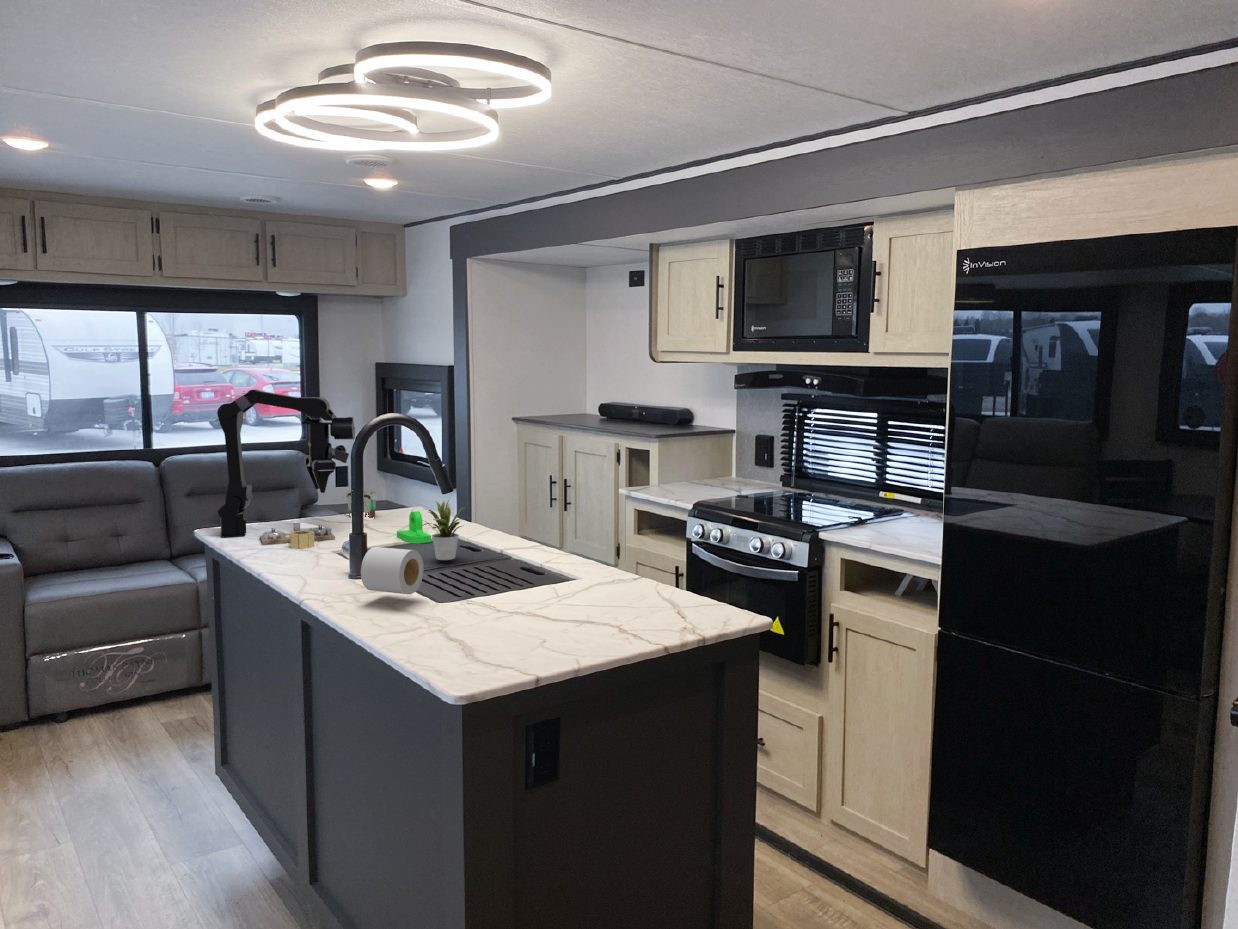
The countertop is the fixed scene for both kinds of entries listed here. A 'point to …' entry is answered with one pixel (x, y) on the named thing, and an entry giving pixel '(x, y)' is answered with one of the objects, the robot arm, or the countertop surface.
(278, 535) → the gear
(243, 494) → the robot arm
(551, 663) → the countertop surface
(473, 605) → the countertop surface
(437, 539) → the house plant
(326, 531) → the gear
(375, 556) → the toilet paper
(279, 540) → the gear board
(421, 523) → the mechanical part
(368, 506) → the food container
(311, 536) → the tan hollow octagonal ring
